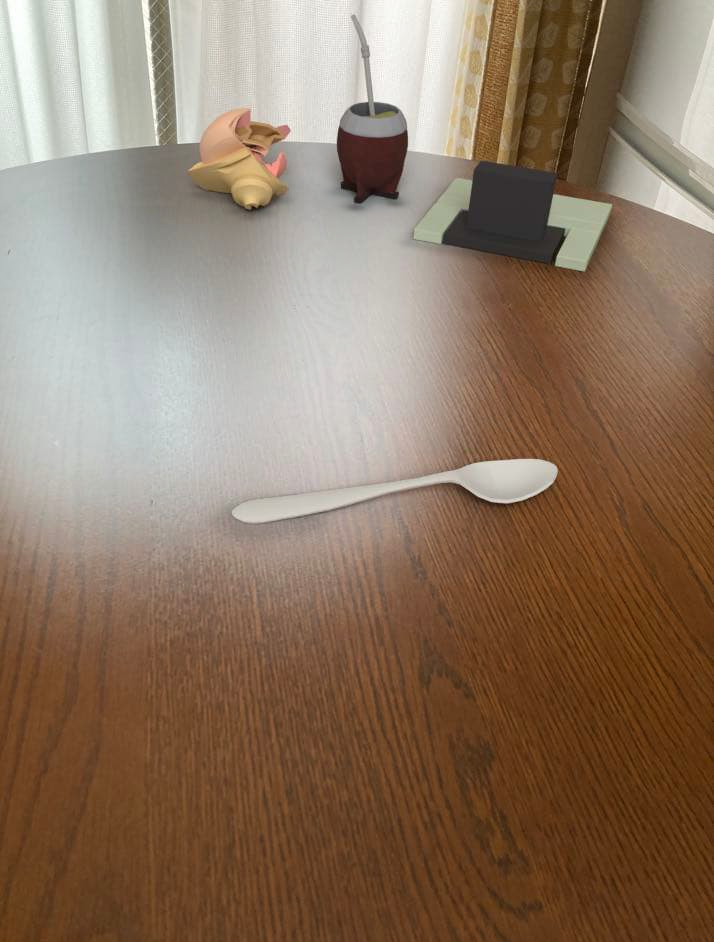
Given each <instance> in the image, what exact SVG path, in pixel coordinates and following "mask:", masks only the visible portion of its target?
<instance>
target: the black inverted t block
mask: <svg viewBox="0 0 714 942" xmlns="http://www.w3.org/2000/svg"><path fill="white" fill-rule="evenodd" d="M557 179H558V172H553V171H547V170H542V169H541V170H540V169H534V168H530V167H524V166H517V165H510V164H504V163H498V162H493V161H487V160H480V161H479V162H478V164H477V165H475V167H474V169H473V173H472V180H473V181H472V188H471V195H470V202H469V210H468V211H466V210H462V211H461V213H460V214H459V215H458V217H457V218H456V219H455V221H454V222H453V223H452V225H451V226H450V227H449V229H448V230H447V231H446V233H445V236H444V240H443V244H445V245H449V246H454V247H460V248H465V249H469V250H476V251H481V252H484V253H485V252H486V253H491V254H496V255H502V256H506V257H511V258H517V259H522V260H527V261H532V262H537V263H541V264H542V263H543V264H549V265H551V264H552V261H553V260H554V257H556V254H557V253H558V250H559V249H560V247H561V244H562V243H563V240H564V238H565V237H564V234H565V228H560V227H554V226H549V225H547V224H548V219H549V214H550V209H551V204H552V199H553V194H554V193H555V190H556V189H555V188H556V183H557Z"/></svg>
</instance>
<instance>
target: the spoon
mask: <svg viewBox="0 0 714 942" xmlns="http://www.w3.org/2000/svg"><path fill="white" fill-rule="evenodd" d="M558 472H559V469H558V467H557V465H555V464H554V463H552V462H550V461H548V460H543V459H540V458H538V459H537V458H516V459H502V460H486V461H479V462H474V463H470V464H467V465H465V466H463V467H460V468H457V469H452V470H447V471H443V472H437V473H433V474H429V475H424V476H419V477H416V478H409V479H402V480H395V481H389V482H381V483H375V484H367V485H359V486H353V487H351V486H350V487H344V488H336V489H330V490H321V491H314V492H313V491H312V492H306V493H299V494H292V495H290V494H289V495H282V496H274V497H265V498H257V499H250V500H247V501H244V502H241V503H239V504H238V505H236V506H235V507H234V508H233V509H232V510H231V516H232V517H233V518H234V519H236V520H237V521H238V522H242V523H245V524H265V523H273V522H277V521H282V520H286V519H293V518H298V517H303V516H307V515H313V514H318V513H322V512H327V511H331V510H335V509H339V508H342V507H346V506H349V505H353V504H357V503H361V502H364V501H368V500H371V499H374V498H378V497H380V496H384V495H387V494H392V493H397V492H401V491H406V490H411V489H416V488H421V487H427V486H431V485H436V484H446V483H453V484H457V485H460V486H462V487H463V488H465V489H466V490H467V491H469V492H471V493H472V494H473V495H474V496H475V497H478V498H480V499H481V500H482V499H483V500H485V501H488V502H490V503H497V504H512V503H516V502H521V501H524V500H527V499H529V498H532V497H534V496H537V495H538V494H539V493H542V492H543V491H545V490H547V489H548V488H549V487H550V486H551V485H552V484H554V482H555V480H556V478H557V476H558Z"/></svg>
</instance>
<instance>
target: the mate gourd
mask: <svg viewBox="0 0 714 942" xmlns="http://www.w3.org/2000/svg"><path fill="white" fill-rule="evenodd" d="M350 18H351V21H352V23H353V25H354V28H355V31H356V33H357V34H358V35H357V36H358V38H359V41H360V45H361V46H360V52H361V58H362V59H363V66H364V67H363V68H364V77H365V85H366V95H367V101H364V102H358V103H353V104H352V105H350V106H349V107H348V108H347V109H346V110H345V111H344V113H343V115H342V116H341V118H340V120H339V126H338V129H337V135H336V153H337V157H338V160H339V163H340V165H339V166H340V169H341V175H342V180H343V181H341V182H340V189H343V190H348V191H352V192H356V195H355V196H354V197H353V200H354V201H353V202H354V203H355V204H362V203H364V202H365V201H366V200H367V199H368V198H369V197H371V196H377V197H383V198H387V199H393V200H397V199H398V198H399V195H400V192H399V191H397V189H398V186H399V183H400V181H401V178H402V175H403V173H404V167H405V161H406V157H407V154H408V148H409V133H408V122H407V120H406V117H405V115H404V113H403V111H402V110H401V109H400V108H399V107H397V106H396V105H394V104H391V103H387V102H381V101H375V100H374V94H373V83H372V74H371V73H372V71H371V64H370V57H371V52H370V46H369V45H368V43H367V42H368V41H367V38H366V35H365V33H364V30H363V28H362V26H361V24H360V22H359V20H358V18H357V16H356V14H351V15H350Z"/></svg>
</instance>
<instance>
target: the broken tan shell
mask: <svg viewBox="0 0 714 942" xmlns="http://www.w3.org/2000/svg"><path fill="white" fill-rule="evenodd" d="M251 112H252V109H251V108H250V107H249V108H248V107H241V108H234V109H231V110H228V111H226V112H224V113H222V114H220V115H219V116H218V117H216V118H215V119H214V120H213V121H211V122H210V124H209V125H208V126H207V127H206V129H205V130H204V131H203V133H202V135H201V137H200V142H199V156H200V160H201V161H199V162H197V163H195V164H194V165H193V166H192V167H191V168H189V169H188V170H187V172H188V173H189V176H190V177H191V178H192V180H193V181H194V182H195V183H196V184H197V185H198V187H200V188H201V189H202V190H204V191H212V192H217V193H224V194H231V195H232V198H233V201H235V203H236V204H237V205H239V206H241V207H243V208H244V209H246V210H252V207H255V208H256V209H258V207H259V206H262V207H265V206H267V205H268V204H269V203H270V201H271V200H272V197H273V195H275V196H277V197H278V196H281V195H283V194H285V193H286V192H287V191H289V187H288V186H286V184H285V183H284V182H282V181H281V180H280V179H279V178H280V177H281V176H282V175H283V174H284V172H285V171H286V170H287V169H286V168H287V166H288V165H287V164H288V161H287V160H288V159H287V157H286V154H285V153H284V152H283V151H282V152H279V154H278V156H277V159H276V160H275V161H272V164H270V163H265V162H264V161H263V159H262V158H261V156H262V157H264V158H265V157H266V156H267V154H268V152H269V149H270V147H271V146H272V145H274V144H277V143H279V142H281V141H284V140H285V139H286V138H287V137H288V135H290V133H291V132H292V130H291V128H290V127H289V126H288V124H282V125H278V126H273V125H272V124H270V123H266V122H265V123H264V122H259V121H253V120H251Z"/></svg>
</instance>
